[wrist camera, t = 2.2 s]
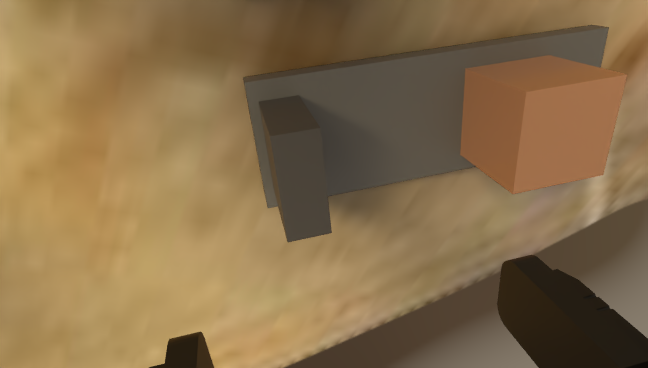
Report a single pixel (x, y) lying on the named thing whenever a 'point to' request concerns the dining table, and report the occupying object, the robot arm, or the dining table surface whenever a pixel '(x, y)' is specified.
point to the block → (539, 120)
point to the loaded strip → (377, 119)
